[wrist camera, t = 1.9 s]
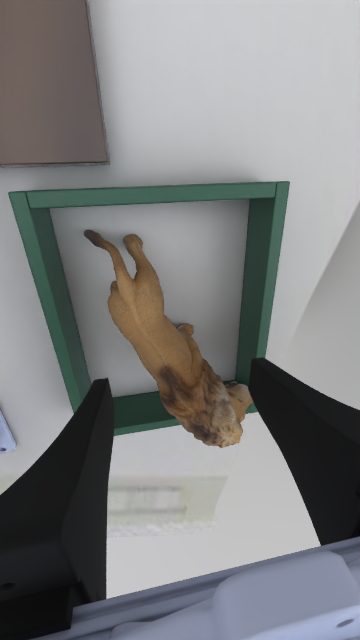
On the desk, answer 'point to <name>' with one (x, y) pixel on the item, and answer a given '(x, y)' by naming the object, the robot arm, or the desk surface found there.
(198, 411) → the lion figurine
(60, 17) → the stand
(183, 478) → the desk surface
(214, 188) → the storage box
